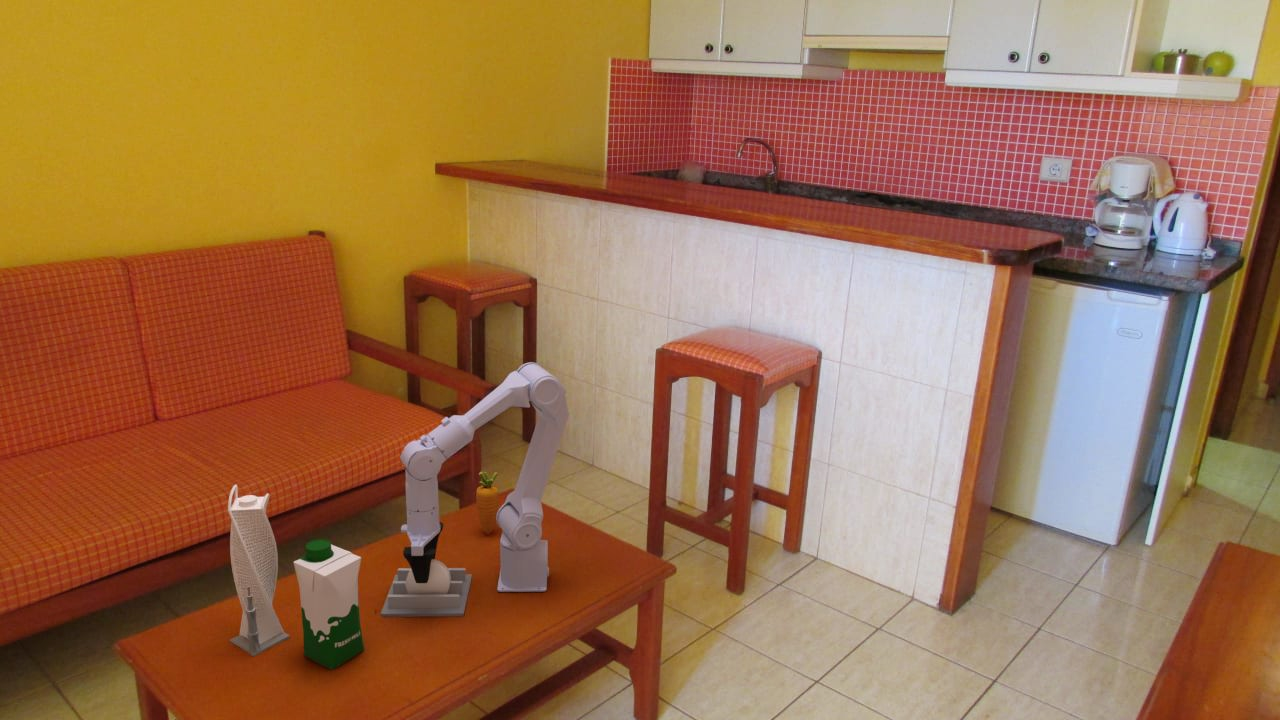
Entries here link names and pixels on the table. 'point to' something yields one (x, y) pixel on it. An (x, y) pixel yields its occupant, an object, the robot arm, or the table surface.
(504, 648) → the table surface
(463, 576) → the dish rack
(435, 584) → the cream round puck
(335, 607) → the milk carton
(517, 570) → the robot arm
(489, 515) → the carrot
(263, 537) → the skyscraper
